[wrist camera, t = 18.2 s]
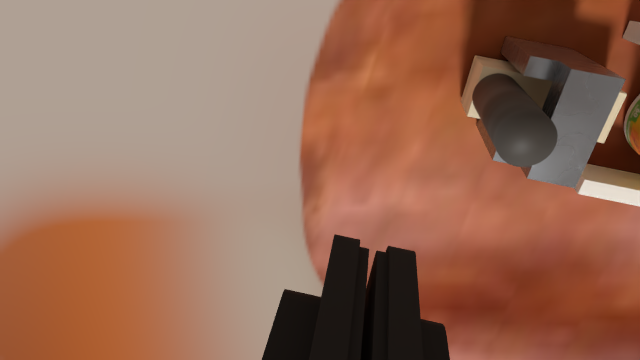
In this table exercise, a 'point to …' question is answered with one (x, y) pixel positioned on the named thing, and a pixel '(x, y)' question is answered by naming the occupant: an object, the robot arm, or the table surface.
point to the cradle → (610, 180)
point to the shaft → (516, 111)
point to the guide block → (564, 105)
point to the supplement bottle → (633, 125)
